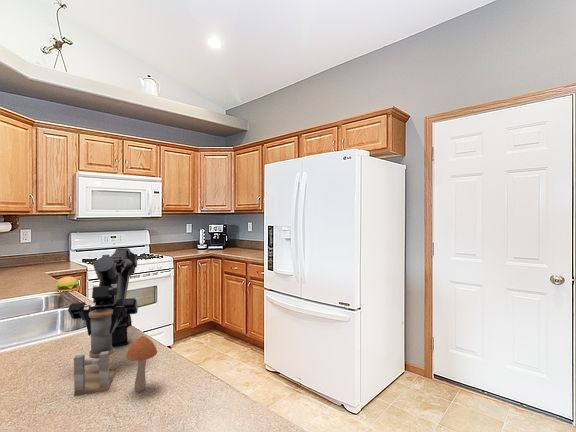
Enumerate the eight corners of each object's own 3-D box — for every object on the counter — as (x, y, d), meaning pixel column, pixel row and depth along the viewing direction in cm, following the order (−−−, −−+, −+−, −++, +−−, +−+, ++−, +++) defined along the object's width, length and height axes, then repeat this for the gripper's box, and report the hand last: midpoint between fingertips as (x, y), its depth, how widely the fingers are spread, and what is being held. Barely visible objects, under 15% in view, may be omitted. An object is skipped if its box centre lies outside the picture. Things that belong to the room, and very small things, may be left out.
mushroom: (164, 384, 93) (163, 332, 93) (143, 400, 85) (142, 342, 85) (141, 380, 96) (140, 328, 95) (119, 394, 88) (118, 339, 88)
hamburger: (82, 288, 210) (82, 274, 209) (72, 292, 198) (72, 278, 198) (62, 288, 208) (62, 275, 208) (51, 293, 196) (50, 279, 196)
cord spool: (107, 347, 105) (107, 307, 104) (117, 352, 101) (116, 310, 100) (85, 354, 99) (85, 312, 99) (95, 360, 96) (94, 316, 95)
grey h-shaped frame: (86, 375, 98) (85, 342, 98) (116, 371, 101) (115, 339, 100) (74, 395, 88) (73, 358, 87) (107, 390, 90) (107, 354, 90)
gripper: (69, 277, 101) (56, 324, 90) (135, 273, 106) (130, 318, 96) (78, 296, 108) (67, 342, 98) (139, 291, 114) (135, 334, 103)
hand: (100, 333), depth 99 cm, fingers closed on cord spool, 5 cm apart
